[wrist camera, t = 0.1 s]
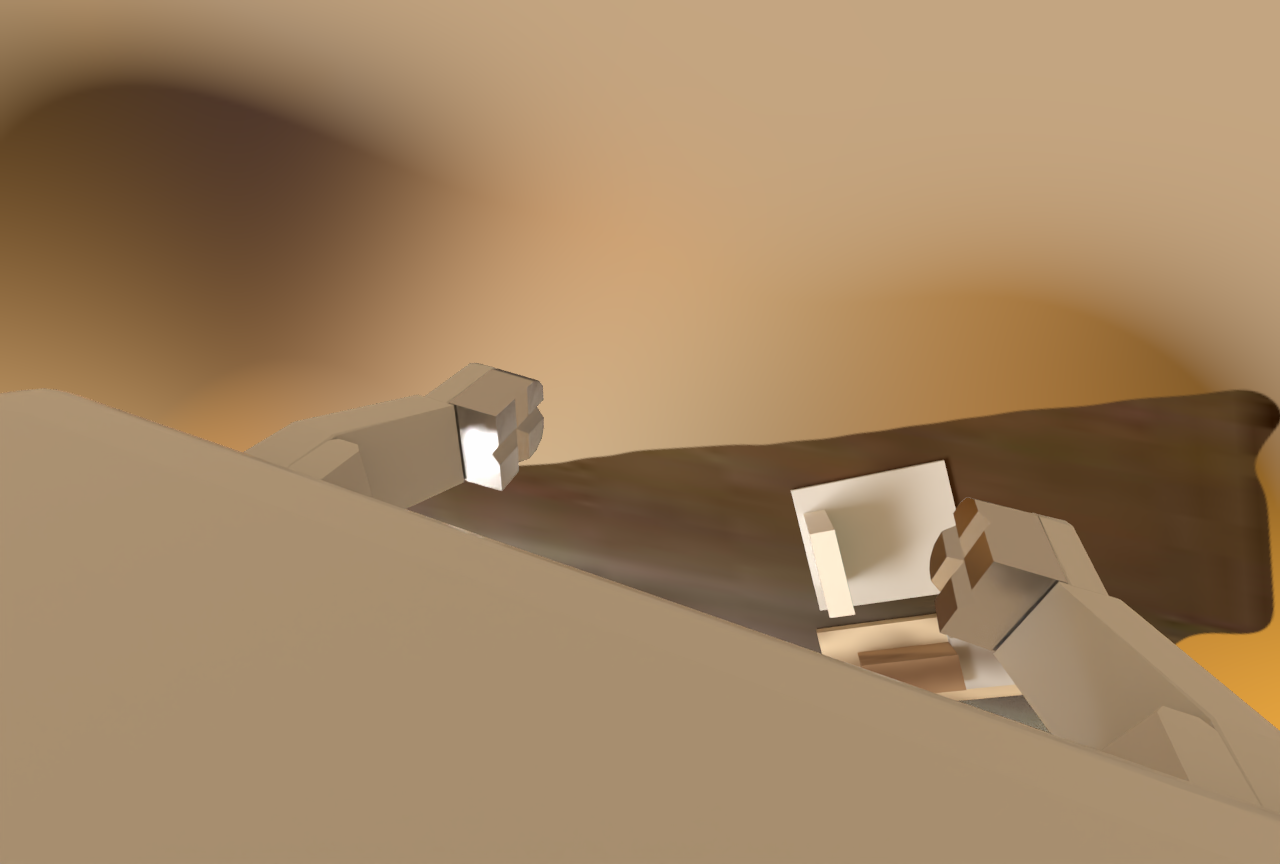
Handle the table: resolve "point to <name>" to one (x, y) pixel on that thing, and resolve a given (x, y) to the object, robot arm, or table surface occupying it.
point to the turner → (939, 666)
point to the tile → (829, 564)
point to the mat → (882, 529)
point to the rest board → (896, 646)
